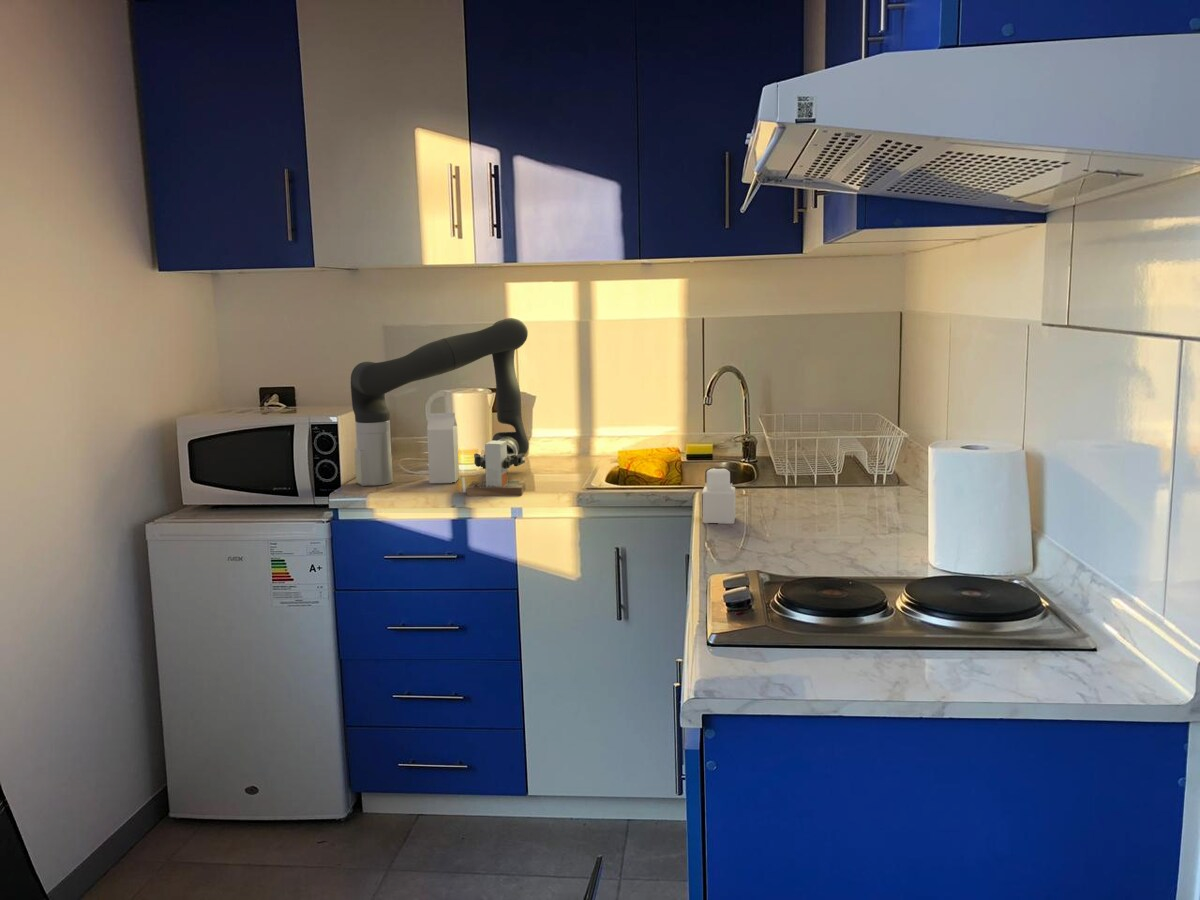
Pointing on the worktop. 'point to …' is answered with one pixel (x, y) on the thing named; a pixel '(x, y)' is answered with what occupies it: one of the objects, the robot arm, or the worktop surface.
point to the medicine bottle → (718, 496)
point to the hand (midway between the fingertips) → (494, 464)
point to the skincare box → (495, 463)
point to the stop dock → (497, 489)
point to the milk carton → (442, 448)
